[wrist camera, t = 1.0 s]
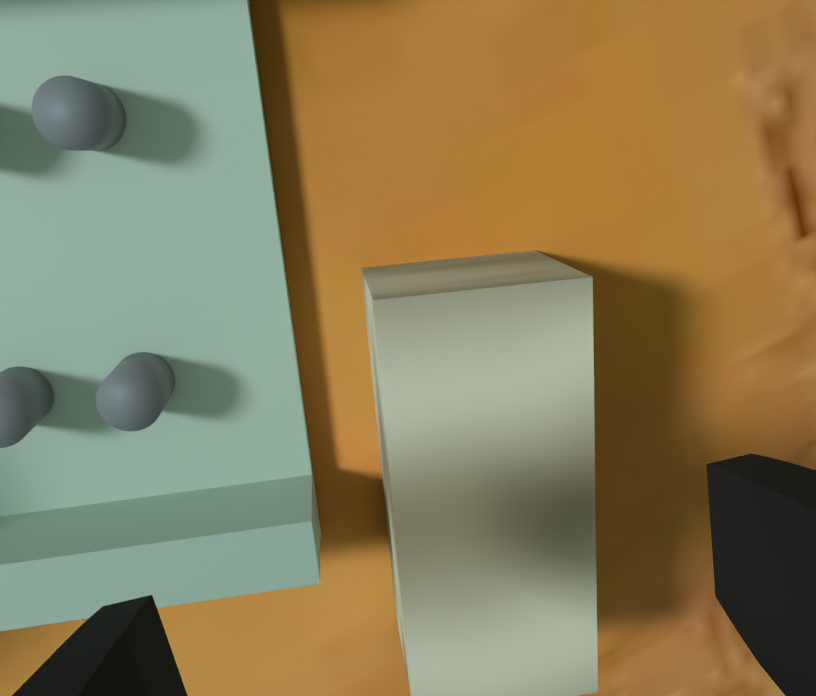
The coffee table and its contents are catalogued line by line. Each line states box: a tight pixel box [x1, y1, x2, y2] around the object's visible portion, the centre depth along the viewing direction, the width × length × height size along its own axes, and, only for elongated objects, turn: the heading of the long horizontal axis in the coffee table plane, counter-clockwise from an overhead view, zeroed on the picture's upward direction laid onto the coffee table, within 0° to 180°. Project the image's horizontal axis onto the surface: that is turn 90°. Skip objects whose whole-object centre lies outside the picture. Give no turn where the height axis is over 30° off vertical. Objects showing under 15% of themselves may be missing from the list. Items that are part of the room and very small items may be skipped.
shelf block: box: [361, 250, 598, 696], centre depth 18 cm, size 10×4×4 cm, turn 5°
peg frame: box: [0, 0, 321, 631], centre depth 15 cm, size 16×10×3 cm, turn 5°
